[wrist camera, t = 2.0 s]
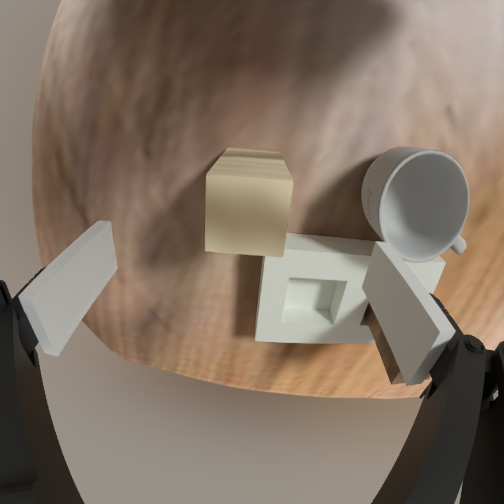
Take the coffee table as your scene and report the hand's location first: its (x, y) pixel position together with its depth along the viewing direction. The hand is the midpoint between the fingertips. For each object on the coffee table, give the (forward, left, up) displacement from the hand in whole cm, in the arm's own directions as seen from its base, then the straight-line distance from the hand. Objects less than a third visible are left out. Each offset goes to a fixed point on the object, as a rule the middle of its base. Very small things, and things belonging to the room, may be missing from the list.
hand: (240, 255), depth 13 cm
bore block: (+13, +13, -17) cm, 25 cm away
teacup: (0, +18, -18) cm, 25 cm away
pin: (0, 0, -17) cm, 17 cm away
